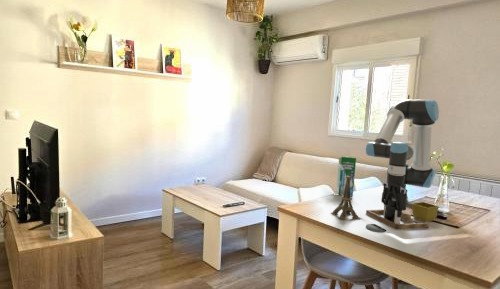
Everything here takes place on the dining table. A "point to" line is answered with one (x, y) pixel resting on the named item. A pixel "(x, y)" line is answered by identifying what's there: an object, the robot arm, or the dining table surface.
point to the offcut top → (406, 214)
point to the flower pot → (424, 211)
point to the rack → (396, 226)
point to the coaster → (375, 228)
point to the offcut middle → (406, 219)
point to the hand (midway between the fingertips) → (391, 220)
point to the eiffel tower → (346, 203)
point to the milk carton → (345, 174)
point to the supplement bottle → (390, 210)
